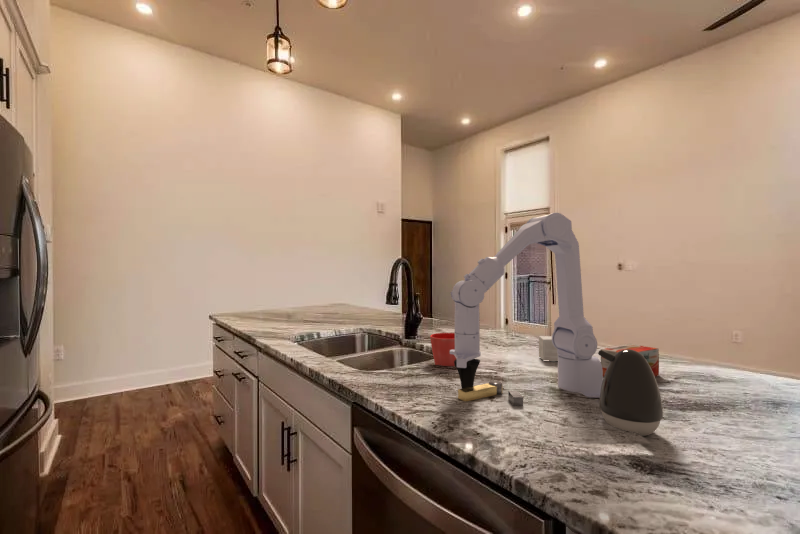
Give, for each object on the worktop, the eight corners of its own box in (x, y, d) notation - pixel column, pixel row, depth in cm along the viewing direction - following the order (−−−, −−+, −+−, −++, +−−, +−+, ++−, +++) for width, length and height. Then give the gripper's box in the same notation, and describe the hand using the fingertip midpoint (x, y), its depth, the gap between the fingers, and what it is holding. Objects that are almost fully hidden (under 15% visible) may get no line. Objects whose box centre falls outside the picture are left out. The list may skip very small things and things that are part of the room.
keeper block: (517, 400, 83) (517, 390, 83) (523, 406, 79) (523, 397, 79) (508, 400, 83) (508, 390, 83) (513, 406, 79) (513, 397, 79)
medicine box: (630, 369, 113) (630, 342, 113) (659, 376, 106) (659, 347, 106) (599, 376, 106) (599, 348, 106) (629, 384, 99) (628, 354, 99)
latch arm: (495, 389, 90) (495, 380, 90) (504, 393, 87) (504, 383, 87) (457, 397, 84) (457, 388, 84) (466, 402, 82) (466, 392, 82)
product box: (557, 357, 127) (557, 336, 127) (562, 362, 121) (562, 339, 121) (538, 357, 128) (538, 335, 128) (542, 361, 122) (542, 339, 122)
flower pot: (424, 364, 119) (424, 333, 119) (456, 361, 123) (456, 331, 123) (438, 373, 109) (438, 339, 109) (471, 369, 112) (471, 337, 112)
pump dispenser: (604, 415, 78) (603, 341, 78) (665, 428, 71) (665, 348, 71) (592, 431, 70) (592, 350, 70) (660, 448, 63) (659, 358, 64)
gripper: (456, 326, 95) (456, 380, 95) (442, 337, 82) (442, 399, 82) (484, 328, 93) (484, 383, 93) (475, 339, 79) (475, 403, 79)
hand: (467, 391), depth 87 cm, fingers closed, pressing on latch arm
